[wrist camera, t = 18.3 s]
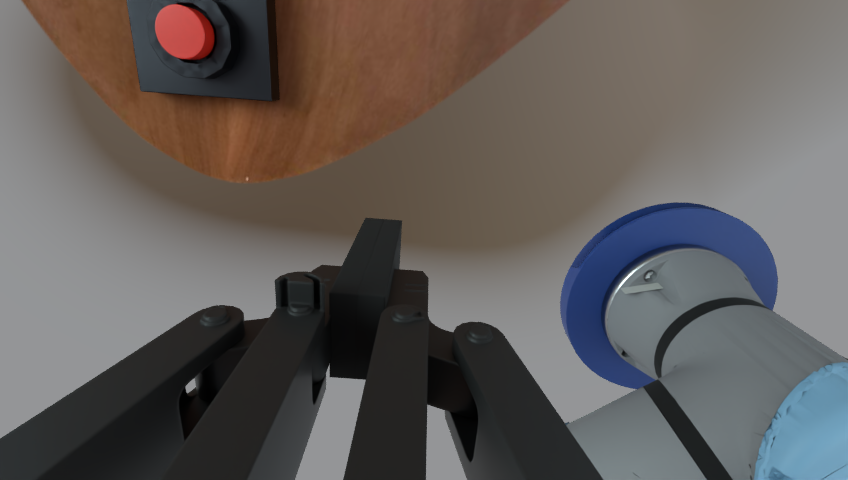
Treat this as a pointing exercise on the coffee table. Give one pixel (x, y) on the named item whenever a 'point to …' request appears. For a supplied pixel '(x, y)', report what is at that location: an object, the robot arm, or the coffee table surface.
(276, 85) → the button block
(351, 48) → the coffee table surface
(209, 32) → the button
